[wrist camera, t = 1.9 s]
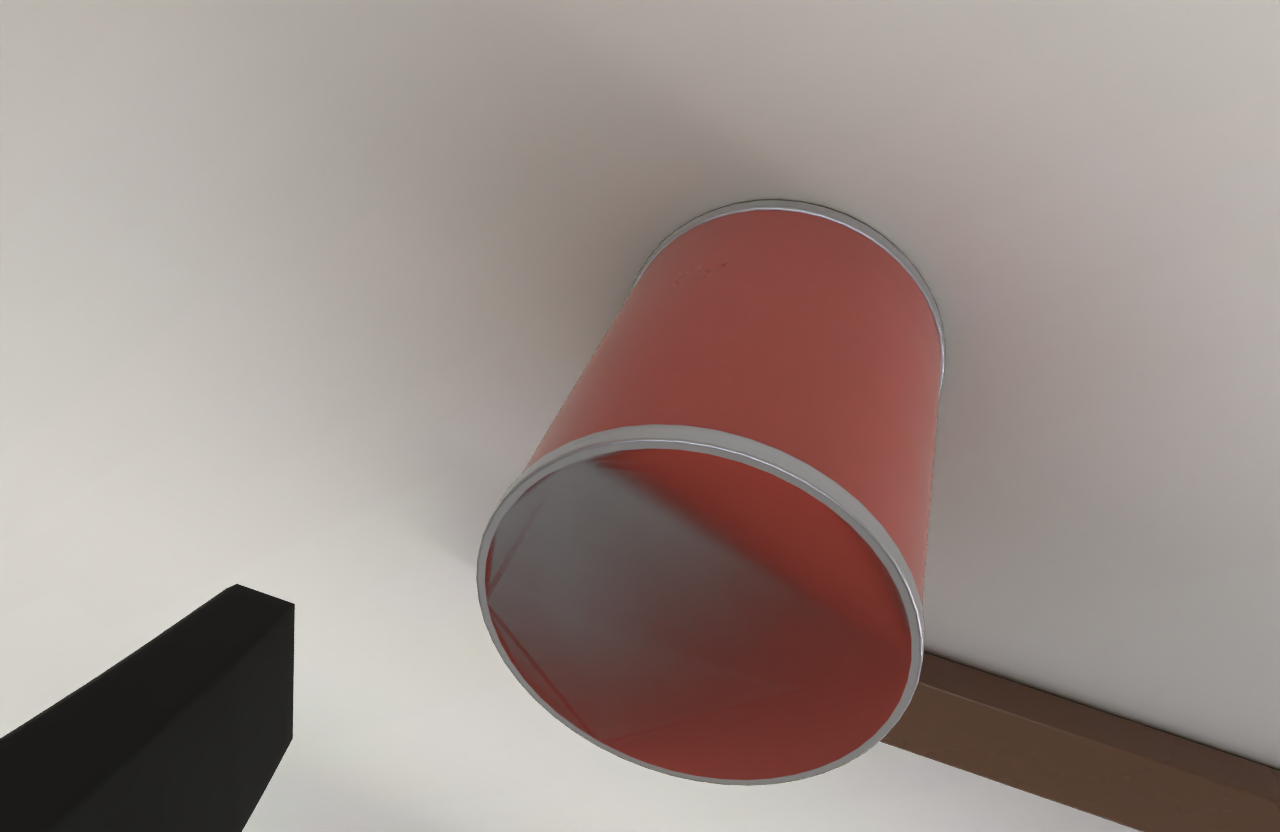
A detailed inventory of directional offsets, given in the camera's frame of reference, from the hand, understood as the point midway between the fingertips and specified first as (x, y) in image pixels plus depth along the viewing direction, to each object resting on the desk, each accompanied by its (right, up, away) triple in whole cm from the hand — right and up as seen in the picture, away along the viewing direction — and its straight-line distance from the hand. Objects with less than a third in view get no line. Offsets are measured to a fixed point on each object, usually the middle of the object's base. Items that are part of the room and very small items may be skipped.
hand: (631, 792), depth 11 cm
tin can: (+2, +5, +7) cm, 9 cm away
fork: (+5, -1, +10) cm, 11 cm away
